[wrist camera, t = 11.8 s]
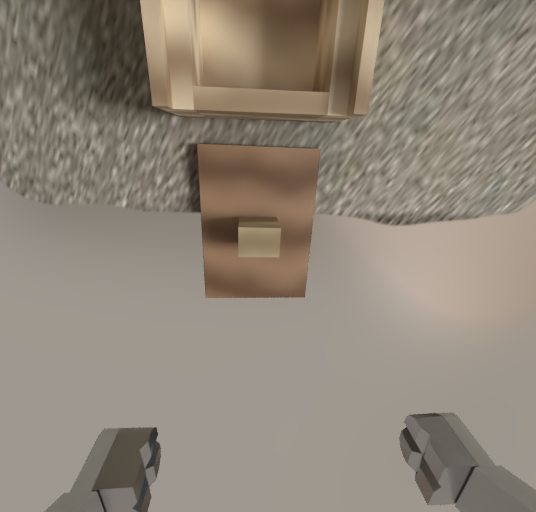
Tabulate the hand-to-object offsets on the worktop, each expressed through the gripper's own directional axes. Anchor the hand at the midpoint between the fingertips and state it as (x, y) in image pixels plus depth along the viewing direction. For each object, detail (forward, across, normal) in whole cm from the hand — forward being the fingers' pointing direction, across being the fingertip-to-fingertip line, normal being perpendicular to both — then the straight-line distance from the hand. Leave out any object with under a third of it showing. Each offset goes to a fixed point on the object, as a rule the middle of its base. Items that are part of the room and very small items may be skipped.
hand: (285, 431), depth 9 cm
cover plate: (+25, 0, 0) cm, 25 cm away
